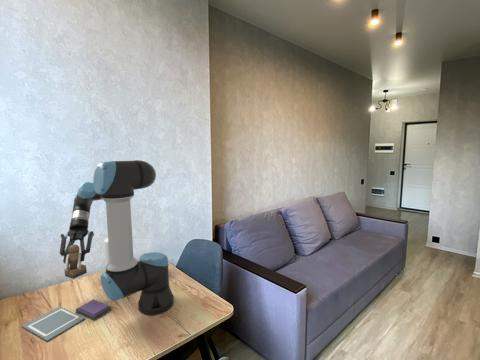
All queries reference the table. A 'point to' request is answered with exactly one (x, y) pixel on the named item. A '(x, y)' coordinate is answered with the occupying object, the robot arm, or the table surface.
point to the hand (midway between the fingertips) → (72, 269)
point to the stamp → (74, 263)
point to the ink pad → (93, 309)
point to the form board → (53, 323)
